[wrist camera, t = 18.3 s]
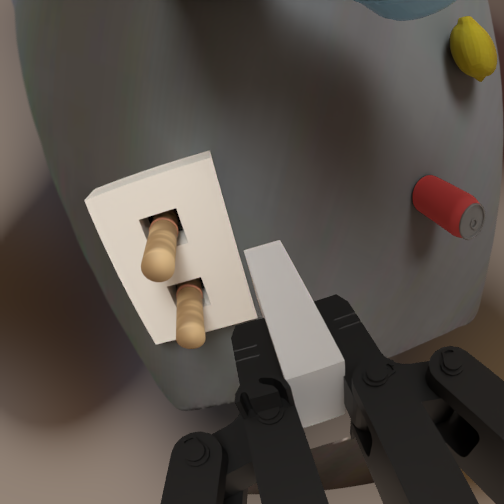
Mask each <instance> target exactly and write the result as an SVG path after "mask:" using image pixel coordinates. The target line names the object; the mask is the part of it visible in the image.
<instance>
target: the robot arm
mask: <svg viewBox="0 0 504 504" xmlns="http://www.w3.org/2000/svg"><path fill="white" fill-rule="evenodd" d="M354 1H356V2H359V3H361V4H363V5H364V6H366V7H367V8H369V9H370V10H372V11H373V12H375V13H376V14H378V15H380V16H382V17H384V18H388V19H393V20H398V21H406V20H414V19H419V18H423V17H426V16H429V15H431V14H434V13H436V12H439V11H441V10H442V9H444V8H446V7H448V6H449V5H451V4H453V3H454V2H455V1H456V0H354ZM244 253H245V257H246V261H247V264H248V268H249V271H250V275H251V279H252V282H253V286H254V289H255V293H256V296H257V300H258V304H259V307H260V310H261V313H262V316H263V318H262V319H258V320H255V321H251V322H248V323H244V324H241V325H237V326H235V329H234V332H233V335H232V337H231V340H232V345H233V350H234V356H235V361H236V367H237V372H238V377H239V382H240V387H239V388H238V390H237V392H236V394H235V404H236V406H237V407H238V410H239V411H240V414H239V415H238V417H237V418H236V419H235V420H234V421H233V422H232V423H231V424H229V425H228V426H226V427H225V428H223V429H221V430H219V431H217V432H215V433H213V434H212V435H211V434H209V433H205V432H194V433H190V434H188V435H186V436H184V437H182V438H181V439H180V440H179V441H178V442H177V443H176V444H175V446H174V448H173V450H172V453H171V458H170V463H169V467H168V472H167V476H166V481H165V486H164V490H163V495H162V500H161V504H247V494H248V487H250V486H252V485H254V484H256V483H257V485H258V489H259V494H260V498H261V503H262V504H328V500H327V497H326V494H325V491H324V489H323V486H322V483H321V480H320V477H319V474H318V471H317V468H316V465H315V462H314V459H313V456H312V453H311V450H310V447H309V444H308V442H307V439H306V436H305V433H304V430H303V428H305V427H308V426H312V425H315V424H318V423H321V422H324V421H326V420H329V419H332V418H335V417H338V416H341V415H343V414H345V407H346V409H347V411H348V413H349V416H350V418H351V427H350V435H351V439H354V438H356V440H357V443H358V445H359V447H360V449H361V452H362V454H363V456H364V459H365V461H366V464H367V466H368V468H369V471H370V473H371V475H372V478H373V480H374V482H375V485H376V487H377V489H378V492H379V494H380V497H381V499H382V501H383V504H478V502H477V500H476V498H475V496H474V494H473V492H472V490H471V488H470V486H469V484H468V482H467V481H466V479H465V477H464V475H463V473H462V471H461V470H460V468H461V469H462V470H463V471H464V472H465V473H466V474H467V475H468V476H469V477H470V478H471V479H472V480H473V481H474V482H475V483H476V484H477V485H478V486H479V487H480V488H481V489H482V490H483V491H484V492H485V493H486V494H487V495H488V496H489V497H490V498H491V499H492V500H493V501H494V502H495V503H496V504H504V381H503V380H502V379H500V378H499V377H498V376H497V375H495V374H494V373H493V372H492V371H491V370H489V369H488V368H487V367H486V366H484V365H483V364H482V363H481V362H479V361H478V360H477V359H475V358H474V357H473V356H472V355H470V354H469V353H468V352H466V351H465V350H463V349H461V348H459V347H453V346H449V347H443V348H441V349H439V350H437V351H435V353H434V354H433V355H432V356H431V358H430V361H427V362H420V363H413V364H400V363H395V362H394V361H393V360H390V359H388V358H386V357H385V356H384V355H383V354H382V353H381V352H380V350H379V349H378V347H377V345H376V344H375V342H374V341H373V339H372V338H371V336H370V335H369V333H368V331H367V330H366V328H365V327H364V325H363V324H362V322H360V319H359V318H358V316H357V315H356V314H355V312H354V310H353V309H352V307H351V306H350V304H349V302H348V301H346V300H345V299H343V298H341V297H340V296H338V295H333V296H330V297H327V298H324V299H321V300H317V301H313V300H312V298H311V296H310V294H309V292H308V290H307V288H306V287H305V285H304V283H303V281H302V279H301V277H300V276H299V274H298V272H297V270H296V268H295V266H294V265H293V263H292V261H291V259H290V257H289V256H288V254H287V252H286V250H285V248H284V246H283V245H282V243H281V241H280V240H278V241H274V242H271V243H267V244H264V245H260V246H257V247H253V248H250V249H246V250H244ZM459 467H460V468H459Z"/></svg>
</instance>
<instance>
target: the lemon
mask: <svg viewBox="0 0 504 504" xmlns="http://www.w3.org/2000/svg"><path fill="white" fill-rule="evenodd" d="M450 50H451V53H452V56H453V59H454V61H455V63H456V64H457V66H458V67H459V69H460V70H461V71H462V72H464V73H465V74H467V75H469V76H471V77H474V78H475V79H476V80H478V81H479V82H482V81H483V80H484V78H485V77H486V76H489V75H491V74H492V73H493V72H494V70H495V69H496V65H497V54H496V49H495V46H494V43H493V41H492V39H491V38H490V36H489V35H488V33H487V32H486V31H485V30H484V29H483V28H482V27H481V26H480V25H479V24H478V23H477V22H476V21H475V20H474V19H473V18H472V17H470V16H465V17H462V18H459V19H458V23H457V25H456V26H455V27H454V28H453V30H452V32H451V35H450Z"/></svg>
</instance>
